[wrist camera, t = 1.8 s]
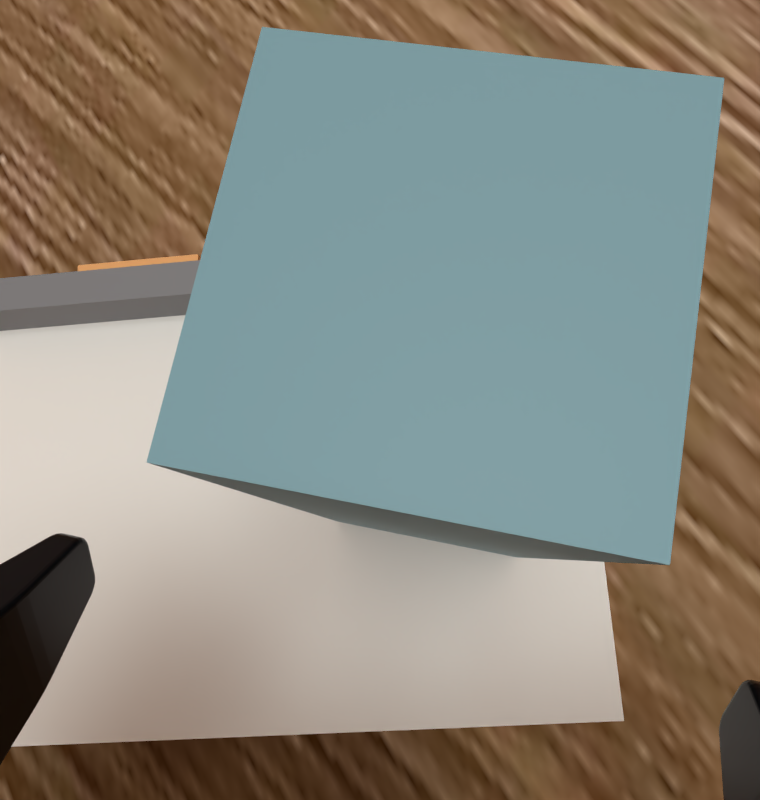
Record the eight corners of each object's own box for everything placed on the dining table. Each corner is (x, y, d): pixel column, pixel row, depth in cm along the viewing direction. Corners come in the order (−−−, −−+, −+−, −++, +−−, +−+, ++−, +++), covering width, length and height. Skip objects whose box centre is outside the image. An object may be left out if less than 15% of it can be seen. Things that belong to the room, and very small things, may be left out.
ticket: (221, 291, 22) (197, 263, 20) (112, 301, 22) (77, 275, 20) (221, 283, 22) (197, 254, 20) (112, 292, 22) (77, 265, 20)
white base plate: (612, 710, 19) (641, 736, 16) (-18, 737, 20) (-89, 766, 17) (558, 266, 22) (574, 225, 19) (9, 314, 23) (-49, 282, 20)
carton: (516, 557, 19) (669, 565, 6) (337, 521, 19) (146, 461, 7) (544, 376, 20) (725, 65, 7) (373, 348, 20) (265, 15, 8)
